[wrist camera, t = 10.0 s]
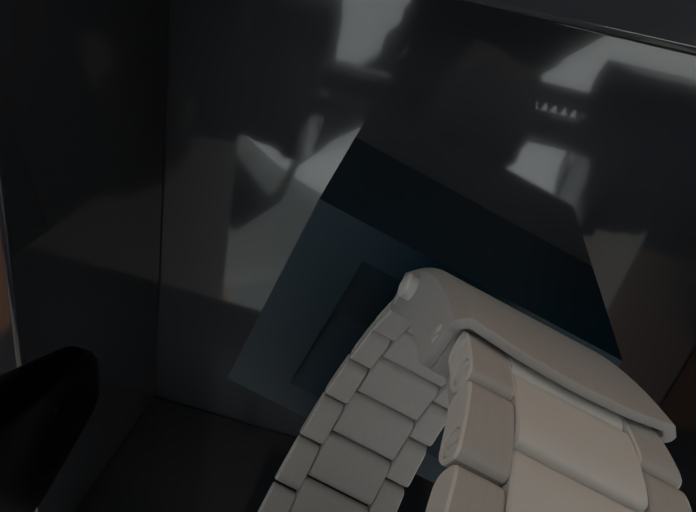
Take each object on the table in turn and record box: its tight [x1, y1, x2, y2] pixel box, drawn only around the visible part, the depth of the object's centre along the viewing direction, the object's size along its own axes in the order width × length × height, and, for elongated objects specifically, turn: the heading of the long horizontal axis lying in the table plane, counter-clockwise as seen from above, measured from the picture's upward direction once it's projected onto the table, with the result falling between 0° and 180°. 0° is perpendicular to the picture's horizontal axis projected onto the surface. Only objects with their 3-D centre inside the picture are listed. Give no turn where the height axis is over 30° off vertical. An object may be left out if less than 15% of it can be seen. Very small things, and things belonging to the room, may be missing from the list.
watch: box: [227, 137, 692, 512], centre depth 9 cm, size 6×8×11 cm
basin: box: [0, 0, 696, 512], centre depth 11 cm, size 14×14×6 cm
